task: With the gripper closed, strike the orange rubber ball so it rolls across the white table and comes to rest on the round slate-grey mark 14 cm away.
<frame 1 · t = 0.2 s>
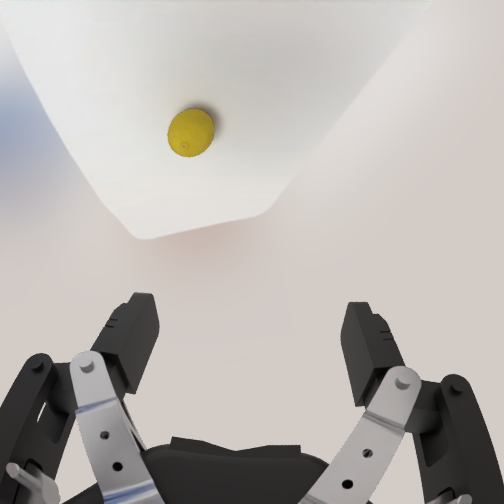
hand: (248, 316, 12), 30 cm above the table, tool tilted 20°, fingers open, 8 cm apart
lemon: (197, 119, 36), on the table
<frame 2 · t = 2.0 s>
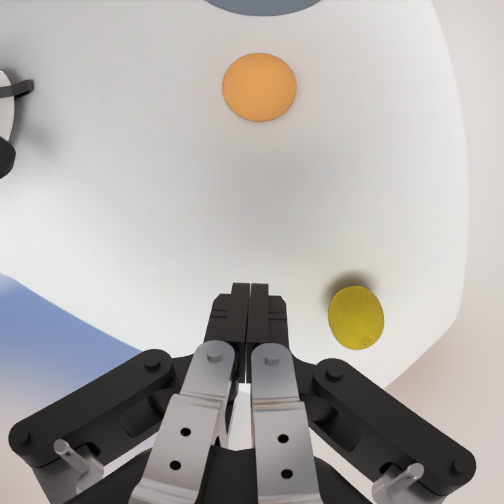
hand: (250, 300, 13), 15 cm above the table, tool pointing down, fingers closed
lemon: (346, 292, 31), on the table
coffee press: (4, 113, 22), on the table
ball: (259, 87, 20), on the table
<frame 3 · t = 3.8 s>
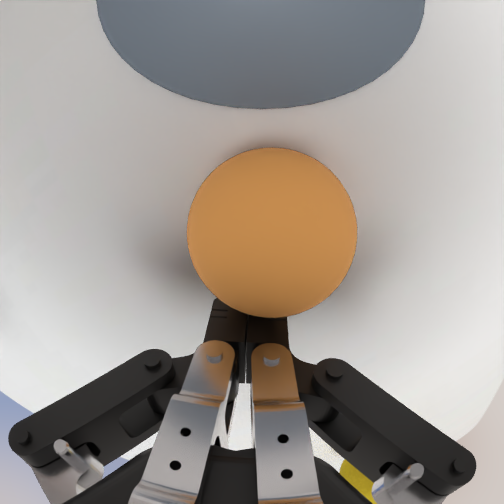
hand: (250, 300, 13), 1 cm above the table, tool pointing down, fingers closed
lemon: (362, 440, 23), on the table
ball: (272, 232, 10), on the table, touching gripper
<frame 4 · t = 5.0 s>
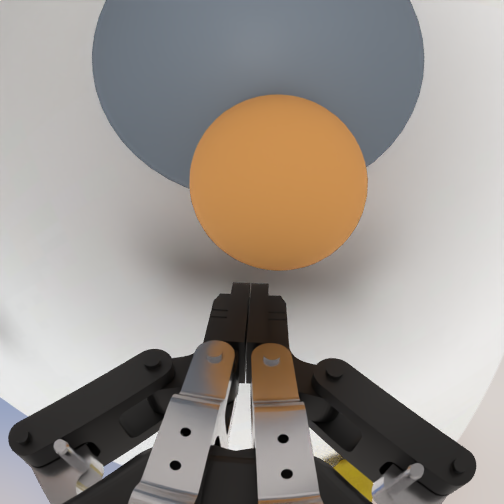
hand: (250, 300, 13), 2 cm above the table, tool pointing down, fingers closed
lemon: (342, 458, 25), on the table
ball: (278, 181, 9), on the table
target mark: (255, 33, 9), on the table
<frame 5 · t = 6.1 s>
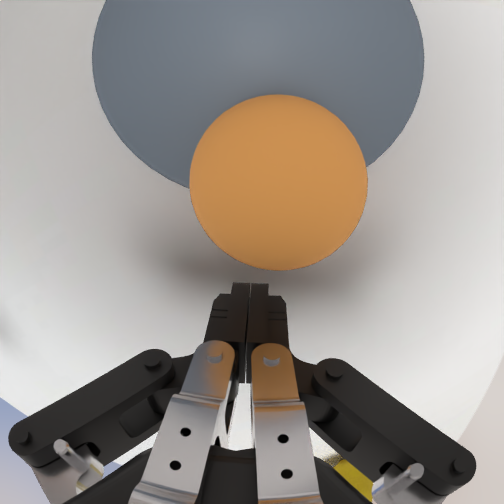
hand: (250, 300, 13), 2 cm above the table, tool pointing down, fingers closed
lemon: (342, 458, 25), on the table
ball: (278, 181, 9), on the table
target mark: (255, 33, 9), on the table
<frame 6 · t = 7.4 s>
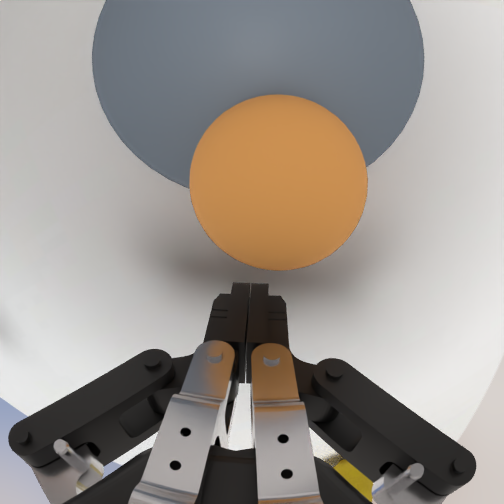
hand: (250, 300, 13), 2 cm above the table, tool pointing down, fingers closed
lemon: (342, 458, 25), on the table
ball: (278, 181, 9), on the table
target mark: (255, 33, 9), on the table
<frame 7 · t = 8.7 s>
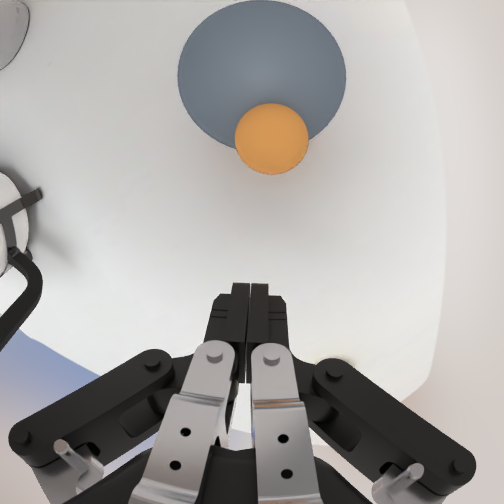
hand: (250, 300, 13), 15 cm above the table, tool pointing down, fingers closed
coffee press: (16, 211, 28), on the table
ball: (271, 138, 21), on the table
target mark: (261, 72, 21), on the table
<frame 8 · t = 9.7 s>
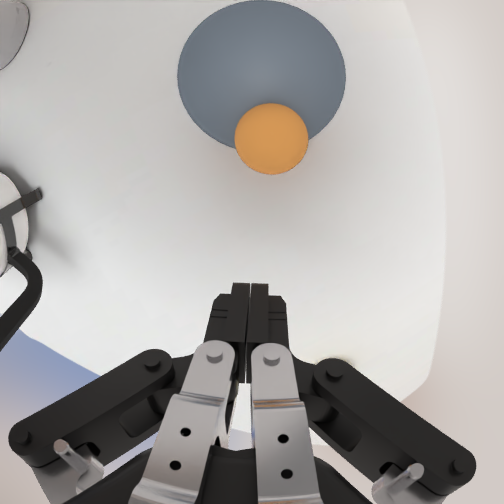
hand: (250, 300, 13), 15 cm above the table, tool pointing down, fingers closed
coffee press: (16, 210, 28), on the table
ball: (271, 138, 21), on the table
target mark: (261, 72, 21), on the table
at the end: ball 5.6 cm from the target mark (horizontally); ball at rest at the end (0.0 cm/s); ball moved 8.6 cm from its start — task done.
